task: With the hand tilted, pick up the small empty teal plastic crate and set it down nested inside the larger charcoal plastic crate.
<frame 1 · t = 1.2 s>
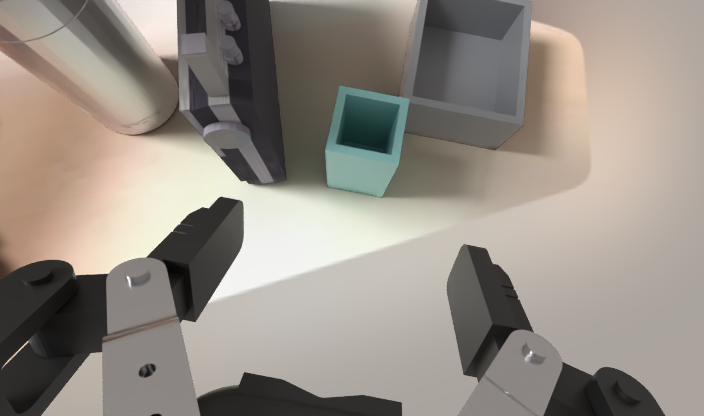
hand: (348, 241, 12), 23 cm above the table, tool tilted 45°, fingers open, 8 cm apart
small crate: (359, 166, 37), on the table
radio: (255, 90, 39), on the table
big crate: (451, 83, 40), on the table
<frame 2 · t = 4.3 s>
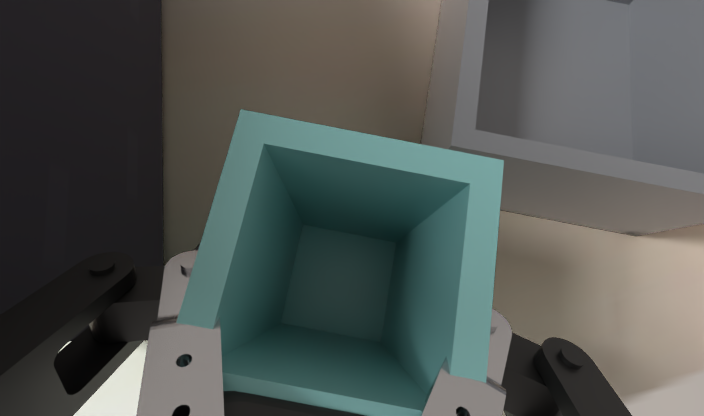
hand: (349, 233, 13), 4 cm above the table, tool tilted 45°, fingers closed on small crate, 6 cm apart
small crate: (340, 281, 16), on the table, touching gripper
radio: (120, 109, 18), on the table
big crate: (532, 91, 20), on the table
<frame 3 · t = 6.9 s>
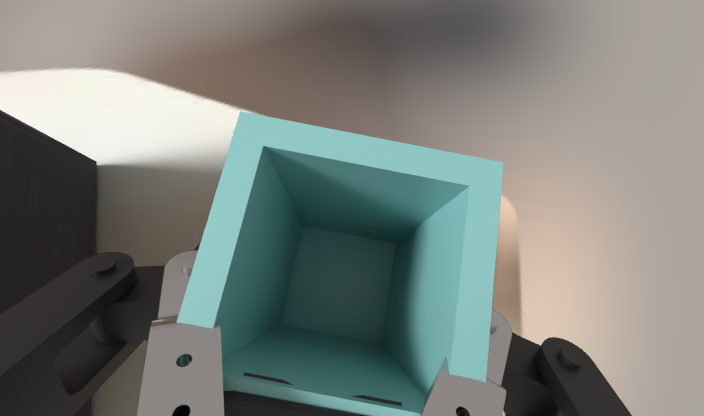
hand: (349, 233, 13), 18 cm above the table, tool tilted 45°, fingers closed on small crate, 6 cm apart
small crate: (340, 282, 16), point 14 cm above the table, touching gripper
radio: (68, 301, 29), on the table
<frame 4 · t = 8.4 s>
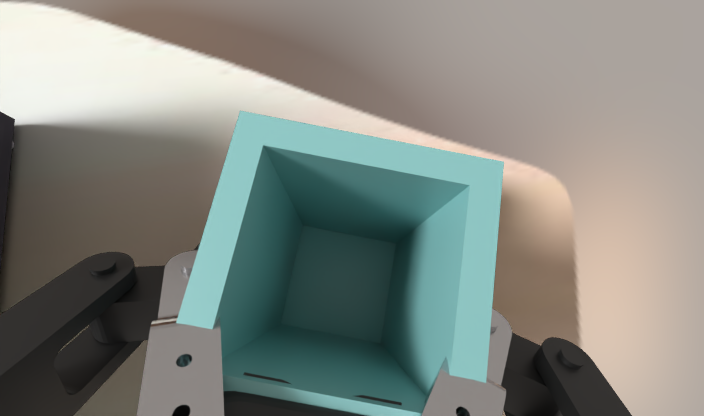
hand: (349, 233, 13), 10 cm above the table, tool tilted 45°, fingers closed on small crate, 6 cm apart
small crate: (340, 282, 16), point 6 cm above the table, touching gripper
when the fingers open (7 cm above the table, at t = 9.7 s): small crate drops 1 cm, resting on big crate.
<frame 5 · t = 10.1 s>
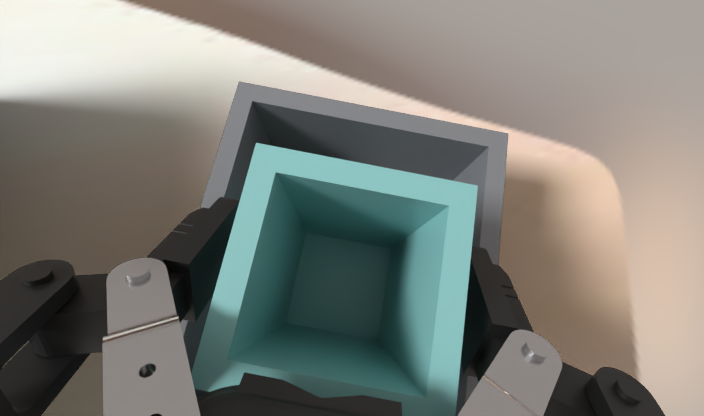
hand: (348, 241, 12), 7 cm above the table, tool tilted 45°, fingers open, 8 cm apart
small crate: (340, 284, 18), point 1 cm above the table, touching big crate
big crate: (339, 283, 19), on the table
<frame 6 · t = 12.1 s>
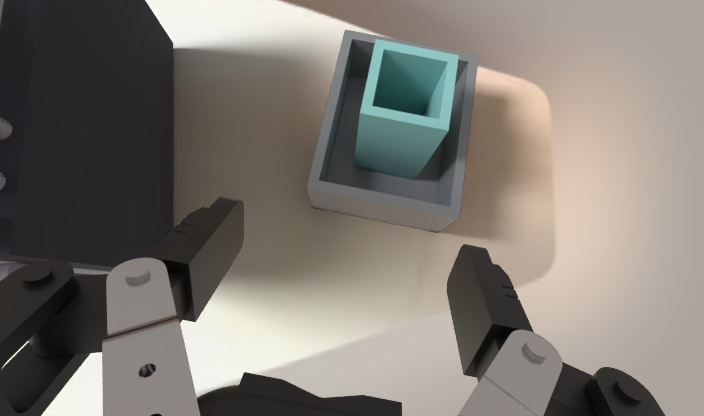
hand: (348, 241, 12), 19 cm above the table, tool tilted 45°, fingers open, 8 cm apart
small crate: (389, 145, 33), point 1 cm above the table, touching big crate
radio: (149, 158, 33), on the table
big crate: (387, 148, 34), on the table
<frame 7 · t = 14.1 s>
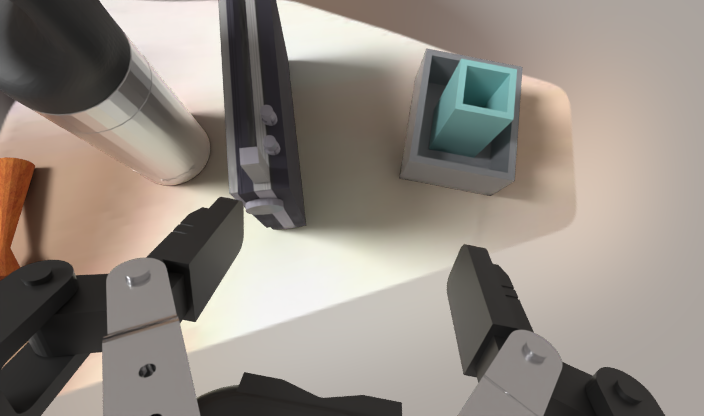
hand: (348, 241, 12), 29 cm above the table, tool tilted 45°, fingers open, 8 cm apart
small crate: (453, 132, 44), point 1 cm above the table, touching big crate
radio: (277, 143, 44), on the table
kendama: (24, 248, 40), on the table
big crate: (451, 134, 45), on the table
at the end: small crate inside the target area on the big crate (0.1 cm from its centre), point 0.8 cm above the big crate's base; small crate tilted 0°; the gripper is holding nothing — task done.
